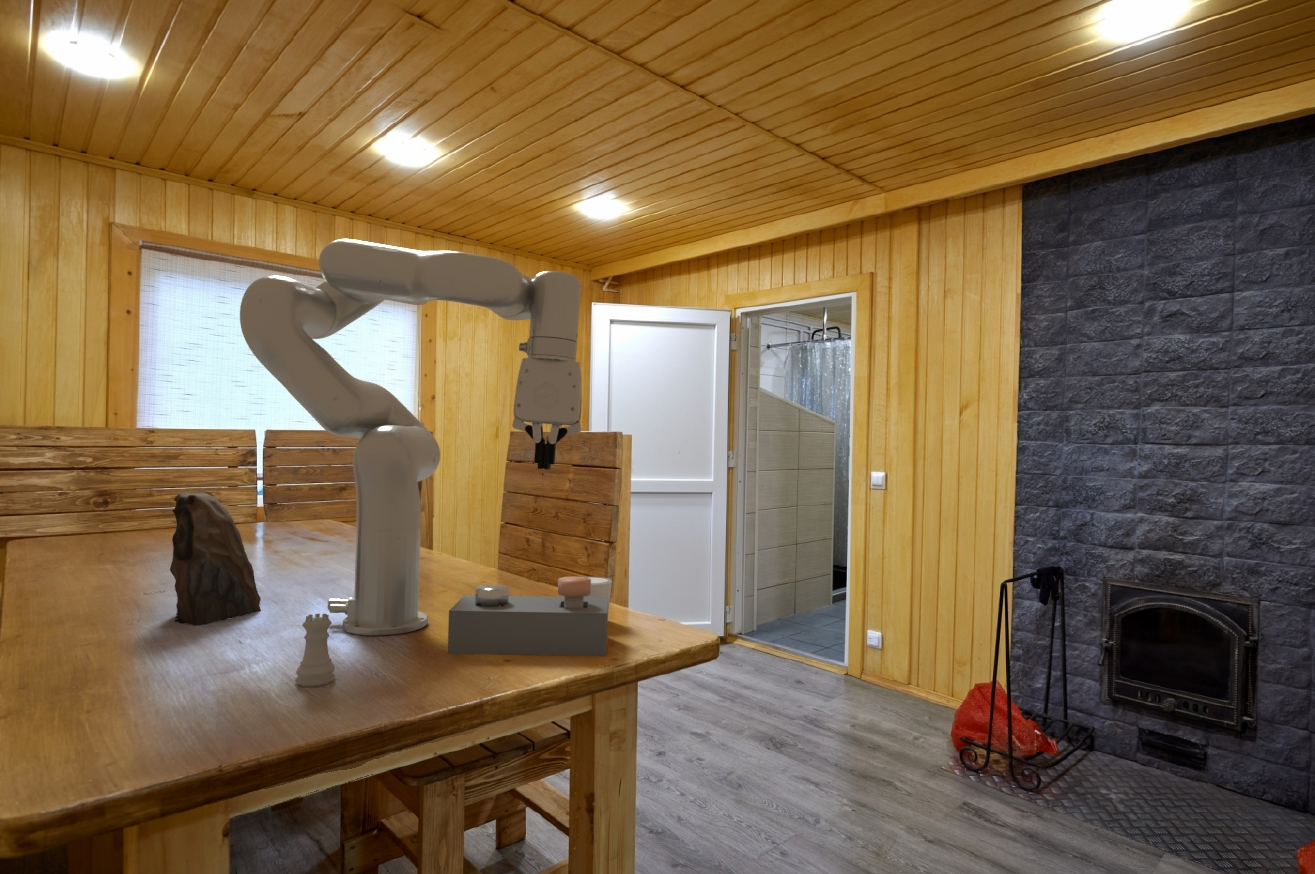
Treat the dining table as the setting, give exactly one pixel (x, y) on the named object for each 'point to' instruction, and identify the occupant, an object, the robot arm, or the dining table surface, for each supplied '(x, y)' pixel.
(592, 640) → the press console
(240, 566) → the brown rock
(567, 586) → the terracotta plug
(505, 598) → the steel plug
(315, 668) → the rook chess piece
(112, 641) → the dining table surface
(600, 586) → the shot glass
